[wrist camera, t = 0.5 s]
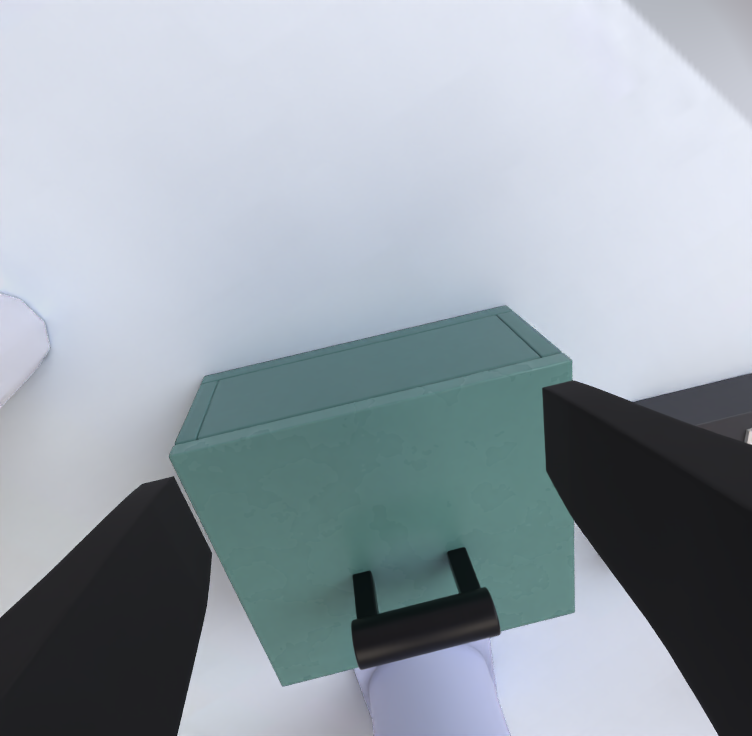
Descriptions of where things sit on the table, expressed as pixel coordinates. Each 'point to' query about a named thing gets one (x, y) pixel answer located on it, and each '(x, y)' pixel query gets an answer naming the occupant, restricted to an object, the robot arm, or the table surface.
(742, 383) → the thermostat box
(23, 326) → the milkshake
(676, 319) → the table surface
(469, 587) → the lid
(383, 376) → the teal hollow box
